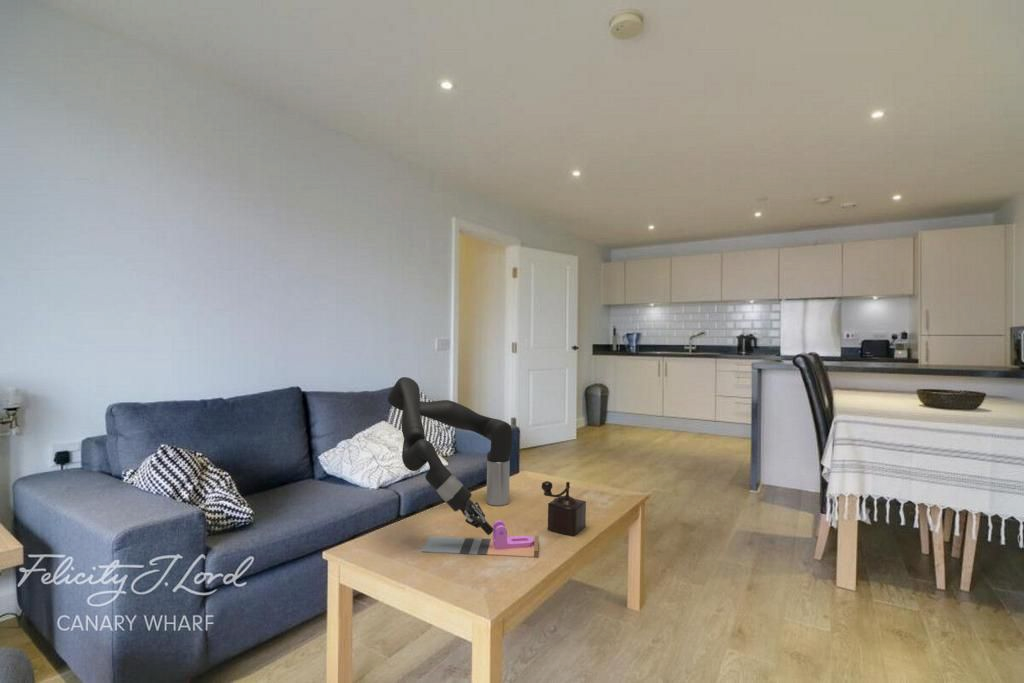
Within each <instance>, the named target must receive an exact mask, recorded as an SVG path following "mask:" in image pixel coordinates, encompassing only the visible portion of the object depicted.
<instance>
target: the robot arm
mask: <svg viewBox="0 0 1024 683" xmlns="http://www.w3.org/2000/svg"><path fill="white" fill-rule="evenodd" d="M392 387H393V388H392V389H391V390H390V392H389V394H388V396H387V402H388V403H389V404H390V406H391V407H393V408H395V409H397V410H400V411H402V417H401V431H402V435H403V436H402V438H403V443H402V453H401V459H402V463H403V466H404V467H405V468H406V469H408V471H411V472H416V471H419V470H420V469H421V468H423V466H425V465H426V464H428V466H429V469H428V470H427V472H426V473H425V477H424V478H425V480H426V482H427V483H429V485H430V486H431V487H432V488H433V489H434V490H435V491H436V492H437V493H438V495H439V496H440V498H441V499H442V500H443V501H444V502H445V503H446V504H447V505H448V506H449V507H450V508H451V509H452V510H453V512H458V511H459V510H460V511H461V513H462V515H463V516H464V517H465V518H466V519H465V522H466V523H467V524H468V525H471V526H473V527H475V529H476V528H477V529H478V528H481V530H483V532H485V534H486V535H487V536H490V535H491V534H493V526H492V525H491V524H490V523H489V522H488V521H487V519H486V518H485V517H486V514H485V513H484V511H483V510H482V508H481V506H480V504H479V503H478V502H477V501H476V502H473V501H472V499H471V498H472V494H473V493H472V492H471V491H470V490H469V489H468V488H467V487H466V486H465V485H464V483H462V482H461V481H460V479H458V478H457V477H456V476H454V475H453V473H452V472H451V471H450V470H449V469H448V468H447V467H446V466H445V465H444V463H443V462H442V460H441V457H440V456H439V454H438V453H437V451H436V449H435V447H434V446H433V444H432V443H431V442H430V441H428V440H426V439H425V438H426V434H425V429H424V426H423V422H422V417H425V418H429V419H431V420H433V421H437V422H439V423H441V424H444V425H447V426H449V427H451V428H455V429H458V430H465V431H470V432H473V433H476V434H478V435H480V436H482V437H483V438H486V439H487V440H489V441H490V450H489V451H488V452H487V454H486V504H488V505H491V506H497V507H498V506H505V505H508V504H509V503H510V469H511V468H510V466H511V465H510V464H511V463H510V459H511V454H512V450H513V428H512V427H511V425H510V423H508V422H506V421H504V420H501V419H498V418H493V417H490V416H487V415H486V416H484V415H482V414H480V413H477V412H475V411H474V410H472V409H470V408H468V407H467V406H466V405H462V404H461V403H458V402H455V401H453V400H451V399H450V400H449V399H443V400H442V399H441V400H434V401H422V400H421V399H420V398H421V397H420V396H421V395H420V387H419V384H418V383H417V382H416V381H415V380H414V379H412V378H411V377H407V376H403V377H402V376H401V377H400V378H398V380H396V382H395V384H394V386H392Z"/></svg>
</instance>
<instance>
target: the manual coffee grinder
mask: <svg viewBox="0 0 1024 683" xmlns="http://www.w3.org/2000/svg"><path fill="white" fill-rule="evenodd" d="M565 482H566V483H565V488H564V489H563V490H562V491H561V492H560V493H558V494H554V493H553V492H552V489H553V483H552V482H551V481H548V480H545V481H543V482H542V483H541V489H542V491H543V496H545V497H551V498H554V499H553V500H552V501H550V502H549V503H547V530H548V531H550V532H553V533H557V534H560V535H564V536H569V537H575V536H577V535H578V534H580V533H581V532H582V531H583V530H584V529H585V528H586V525H587V524H586V518H587V516H586V515H587V514H586V513H587V511H586V507H587V501H586V500H581V499H578V498H574V497H573V496H570V487H571V486H570V484H571V483H570V482H569V481H565Z"/></svg>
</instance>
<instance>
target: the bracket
mask: <svg viewBox="0 0 1024 683" xmlns="http://www.w3.org/2000/svg"><path fill="white" fill-rule="evenodd" d="M492 528H493V532H492V539H493V543H494V547H495V549H509V548H526V547H532V546H533V545H534V541H535V537H532V536H531V535H530V536H529V535H518V536H516V535H515V536H508V530H507V527H506V524H505V522H504V521H503V520H500V519H498V520H495V522H494V523H493V525H492Z"/></svg>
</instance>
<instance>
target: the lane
mask: <svg viewBox="0 0 1024 683" xmlns="http://www.w3.org/2000/svg"><path fill="white" fill-rule="evenodd" d="M539 540H540V538H539V535H535V536H534V545H533V546H532V547H526V548H509V549H495V547H494V543H493V538H476V537H475V538H474V537H472V538H471V537H451V536H434V535H433V536H432V535H430V536H429V537H428V539H427V540H426V542H425V543H424V544H423V547H422V549H421V550H420V553H433V554H434V553H435V554H437V553H439V554H453V555H455V554H456V555H478V556H479V555H481V556H498V557H499V556H500V557H501V556H502V557H519V558H520V557H521V558H525V557H526V558H539V545H540V544H539V542H540V541H539Z"/></svg>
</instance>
